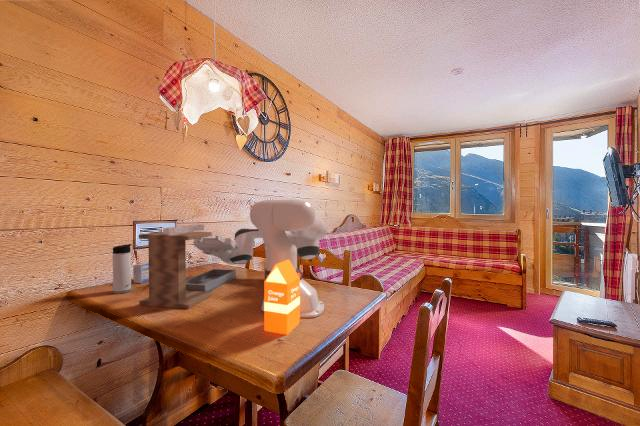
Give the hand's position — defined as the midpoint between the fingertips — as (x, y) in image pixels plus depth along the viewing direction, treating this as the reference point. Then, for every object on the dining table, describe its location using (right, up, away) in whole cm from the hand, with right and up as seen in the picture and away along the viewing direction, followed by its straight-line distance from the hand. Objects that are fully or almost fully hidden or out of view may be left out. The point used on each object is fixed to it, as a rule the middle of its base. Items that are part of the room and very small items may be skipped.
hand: (207, 236), depth 129 cm
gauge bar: (-2, +3, -16) cm, 17 cm away
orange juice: (+41, -24, -44) cm, 64 cm away
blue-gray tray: (+1, -22, +1) cm, 22 cm away
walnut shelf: (-3, -23, -21) cm, 31 cm away
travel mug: (-32, -23, -10) cm, 40 cm away
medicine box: (-33, -22, +6) cm, 40 cm away
